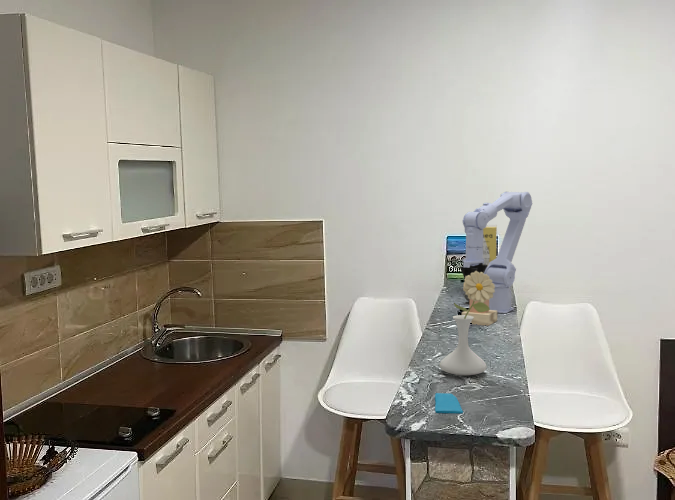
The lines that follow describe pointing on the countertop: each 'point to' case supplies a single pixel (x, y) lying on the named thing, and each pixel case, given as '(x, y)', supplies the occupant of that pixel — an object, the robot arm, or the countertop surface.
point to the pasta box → (489, 243)
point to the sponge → (447, 404)
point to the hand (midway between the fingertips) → (473, 286)
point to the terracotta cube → (475, 309)
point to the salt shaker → (467, 299)
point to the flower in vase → (463, 356)
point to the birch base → (483, 317)
